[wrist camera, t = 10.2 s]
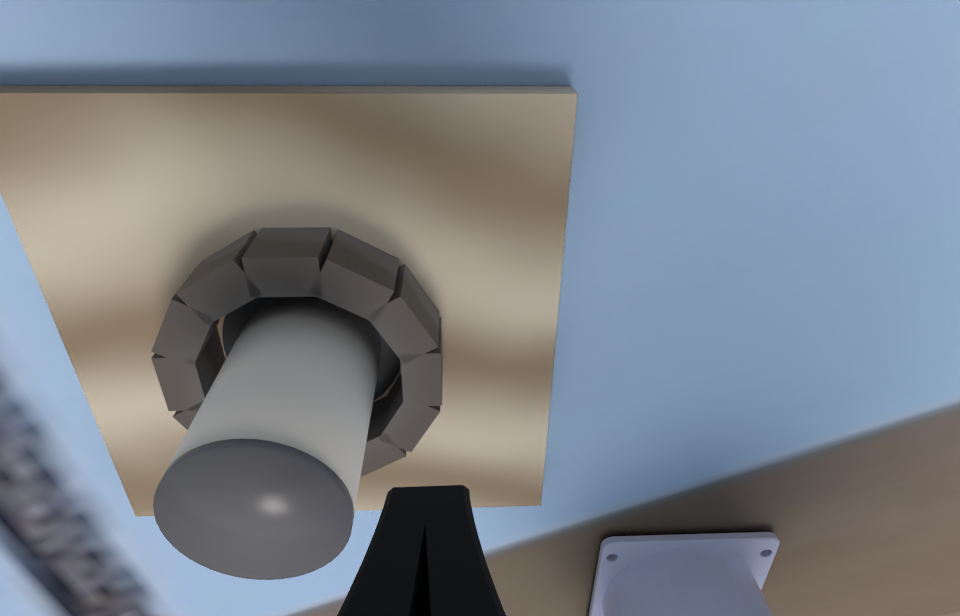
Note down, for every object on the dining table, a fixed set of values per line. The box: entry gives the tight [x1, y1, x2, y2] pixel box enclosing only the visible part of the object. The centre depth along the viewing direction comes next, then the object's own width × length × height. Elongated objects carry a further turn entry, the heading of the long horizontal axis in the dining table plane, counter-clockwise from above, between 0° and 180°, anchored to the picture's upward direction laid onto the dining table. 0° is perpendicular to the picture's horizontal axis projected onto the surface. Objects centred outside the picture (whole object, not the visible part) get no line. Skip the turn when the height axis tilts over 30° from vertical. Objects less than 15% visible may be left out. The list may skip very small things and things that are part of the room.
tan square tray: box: [0, 85, 578, 516], centre depth 20 cm, size 16×16×3 cm
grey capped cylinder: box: [153, 296, 381, 580], centre depth 17 cm, size 4×4×7 cm
